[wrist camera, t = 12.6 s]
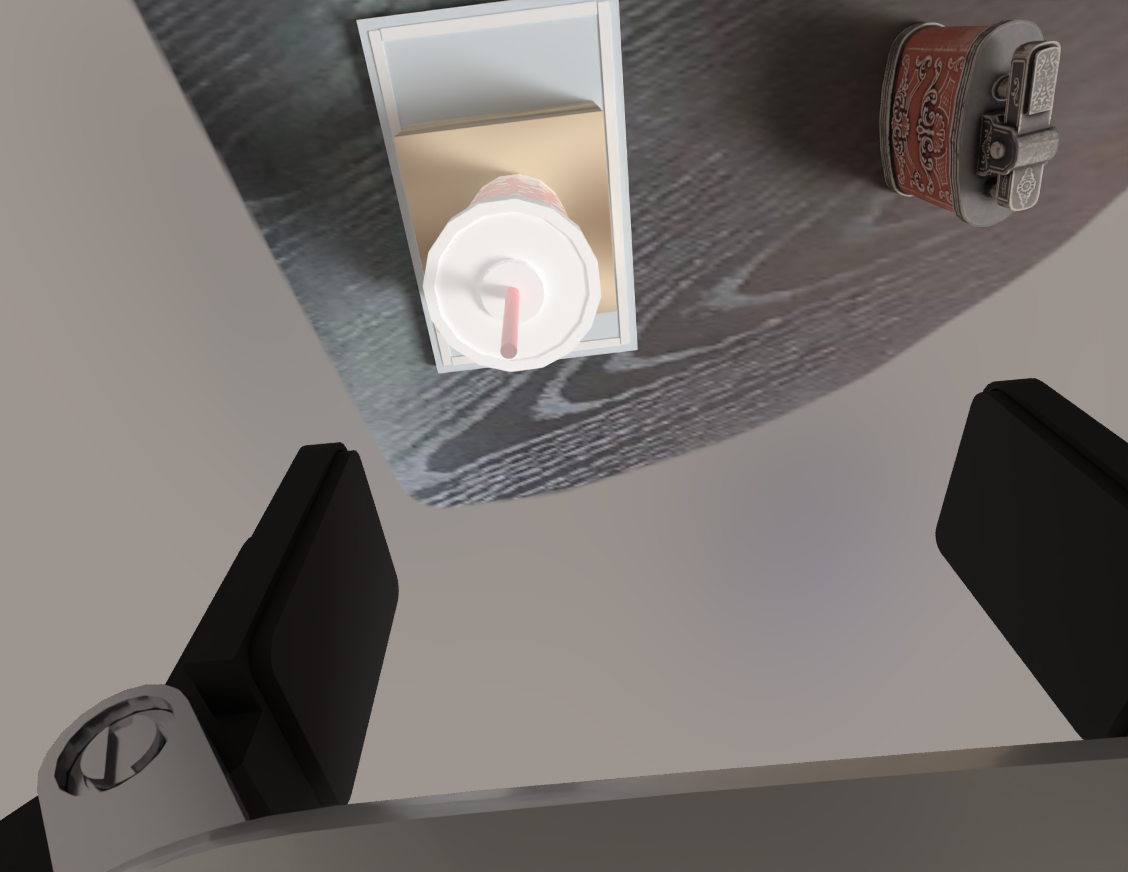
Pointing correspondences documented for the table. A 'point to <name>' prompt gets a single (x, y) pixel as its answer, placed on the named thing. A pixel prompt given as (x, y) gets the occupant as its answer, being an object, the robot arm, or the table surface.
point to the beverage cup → (512, 277)
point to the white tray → (508, 108)
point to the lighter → (969, 117)
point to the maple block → (511, 171)
